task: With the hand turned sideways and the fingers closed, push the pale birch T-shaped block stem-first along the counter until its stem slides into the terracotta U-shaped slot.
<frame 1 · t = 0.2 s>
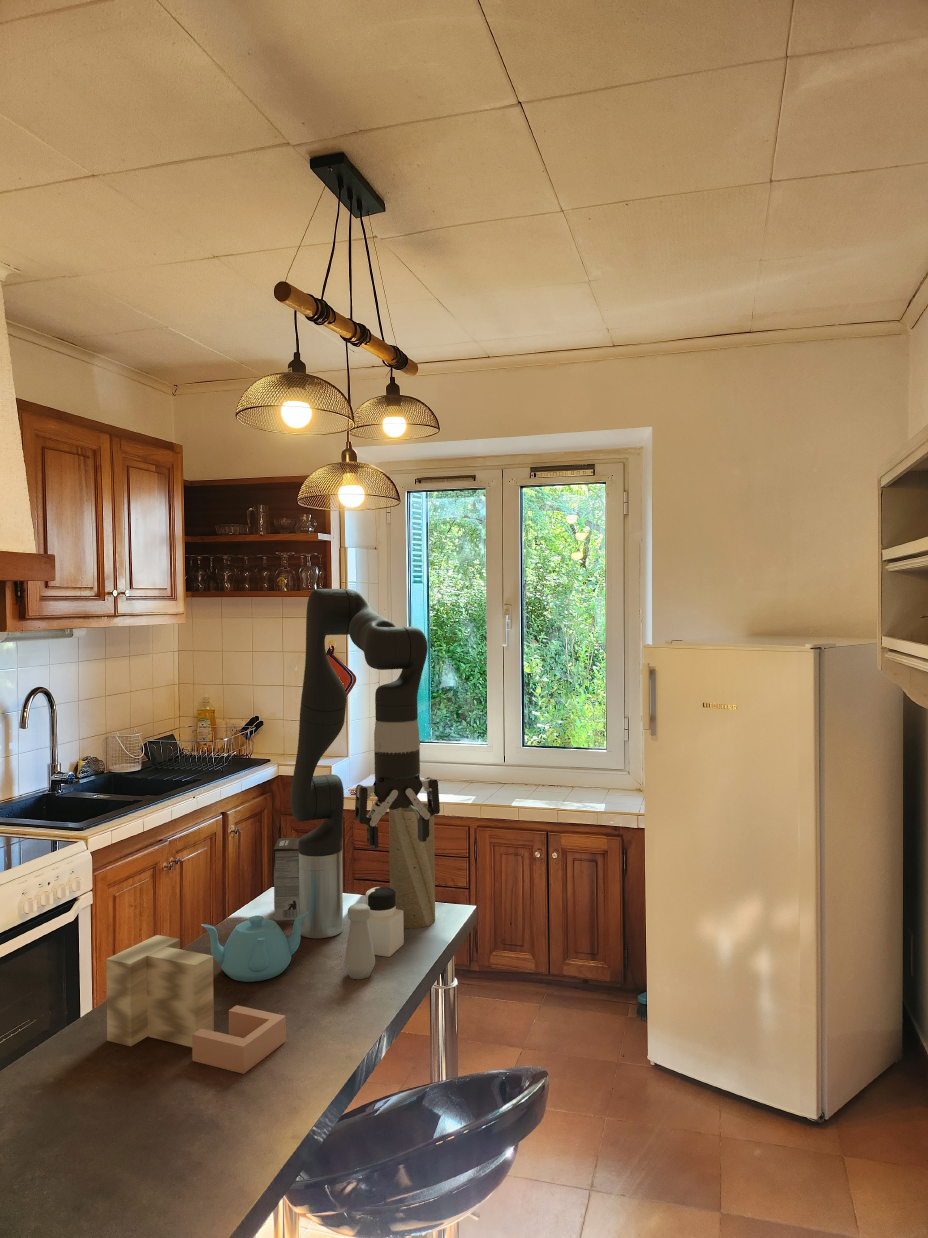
hand: (398, 844, 140), 29 cm above the kitchen island, tool pointing down, fingers open, 8 cm apart
teapot: (257, 974, 160), on the kitchen island
medicine bottle: (381, 950, 171), on the kitchen island
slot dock: (236, 1050, 131), on the kitchen island
t block: (168, 1033, 137), on the kitchen island
salt shaker: (359, 976, 158), on the kitchen island
tube: (412, 921, 187), on the kitchen island
coffee box: (290, 914, 192), on the kitchen island
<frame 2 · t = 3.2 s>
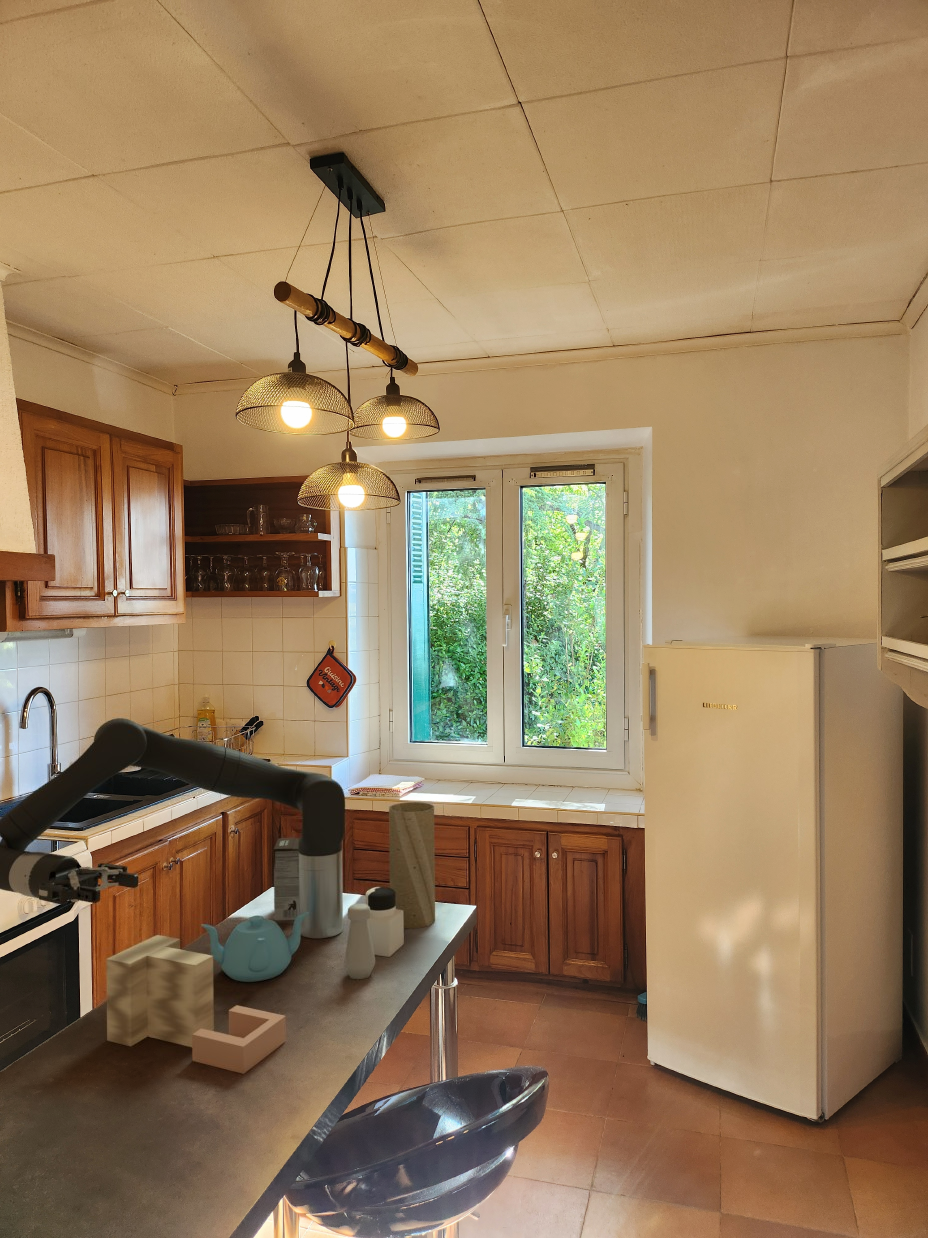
hand: (118, 888, 140), 22 cm above the kitchen island, tool horizontal, fingers open, 8 cm apart
nothing on the kitchen island moved.
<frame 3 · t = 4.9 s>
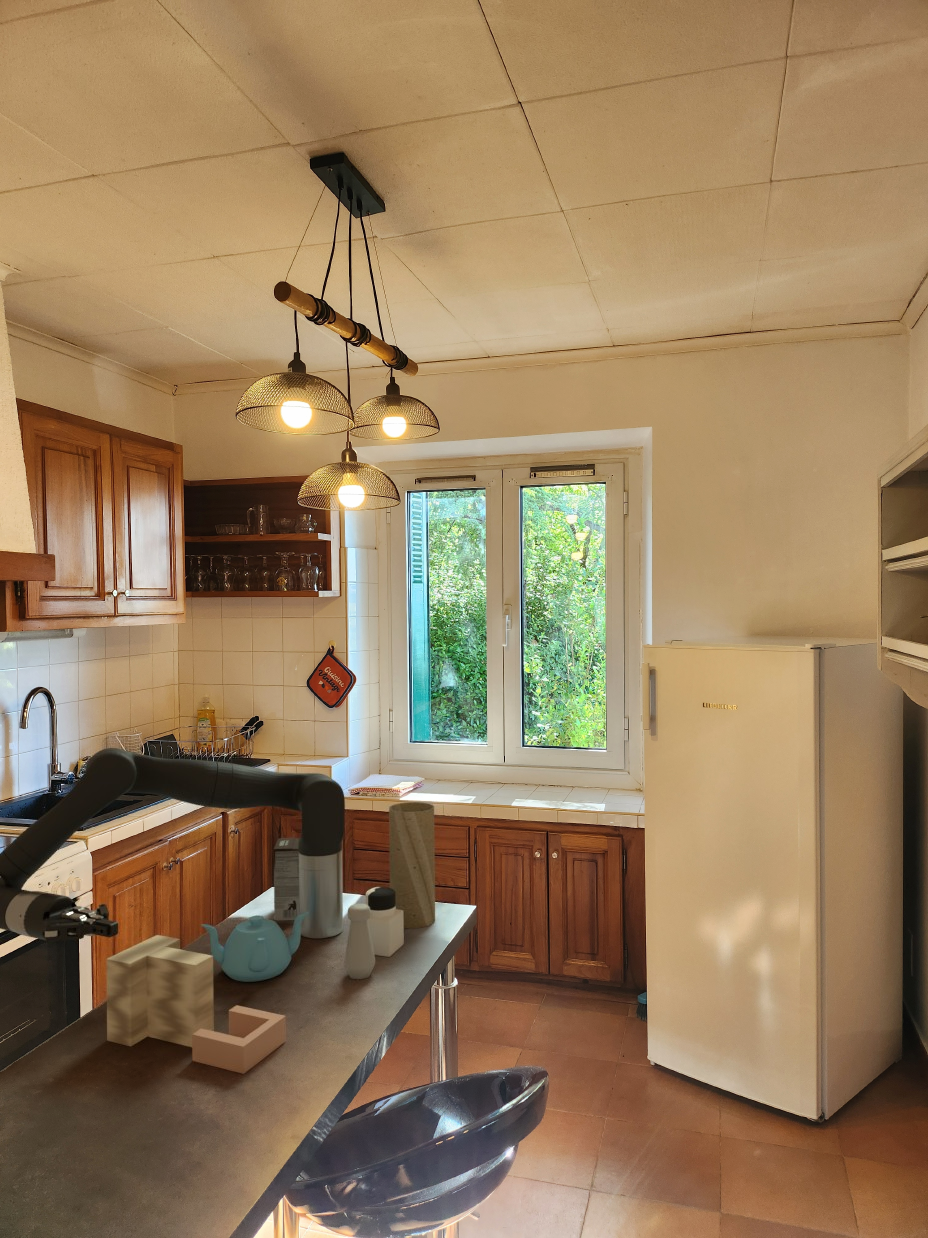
hand: (114, 930, 141), 15 cm above the kitchen island, tool horizontal, fingers closed
nothing on the kitchen island moved.
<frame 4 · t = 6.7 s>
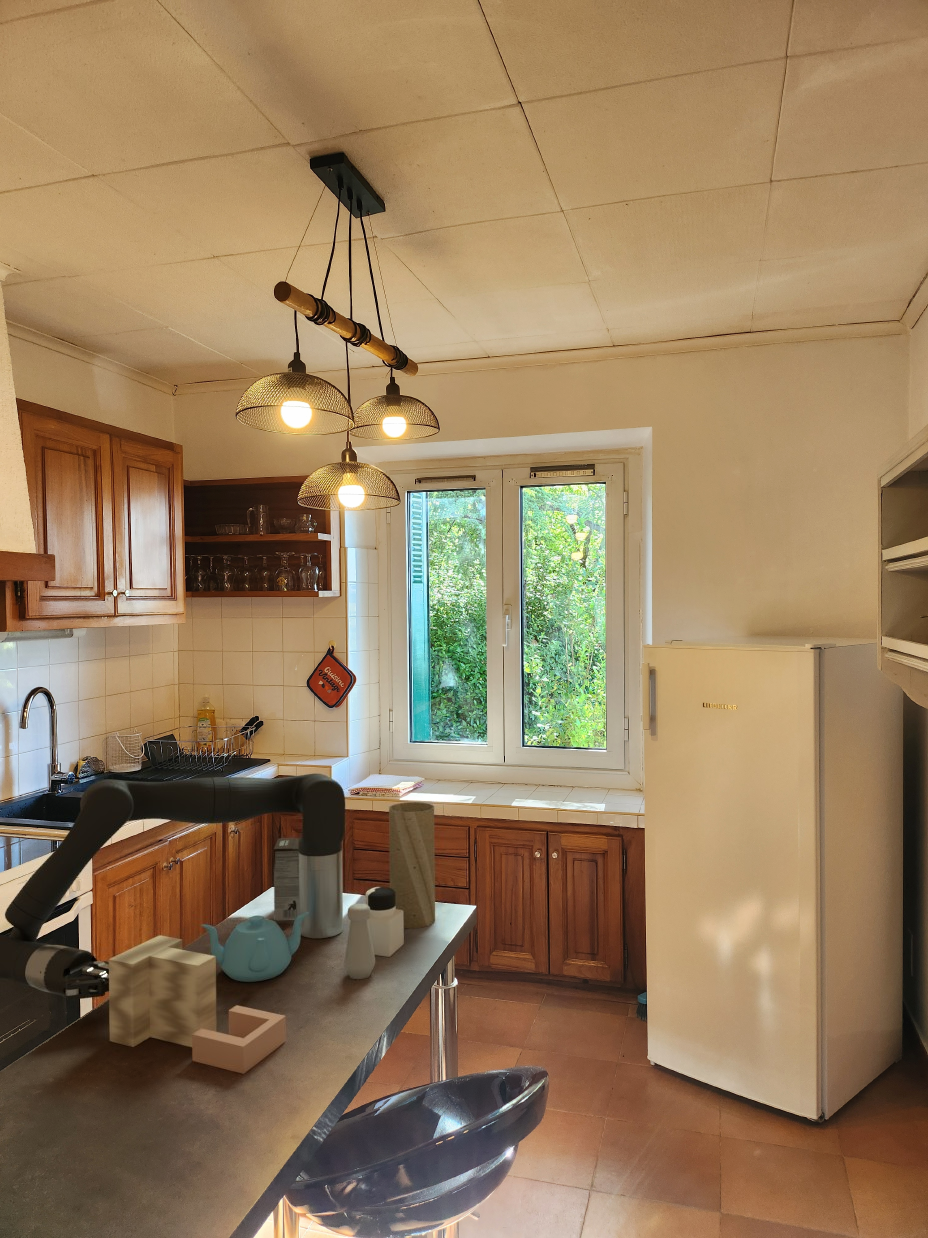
hand: (136, 986, 139), 6 cm above the kitchen island, tool horizontal, fingers closed
t block: (171, 1034, 136), on the kitchen island, touching gripper
everything else where it was.
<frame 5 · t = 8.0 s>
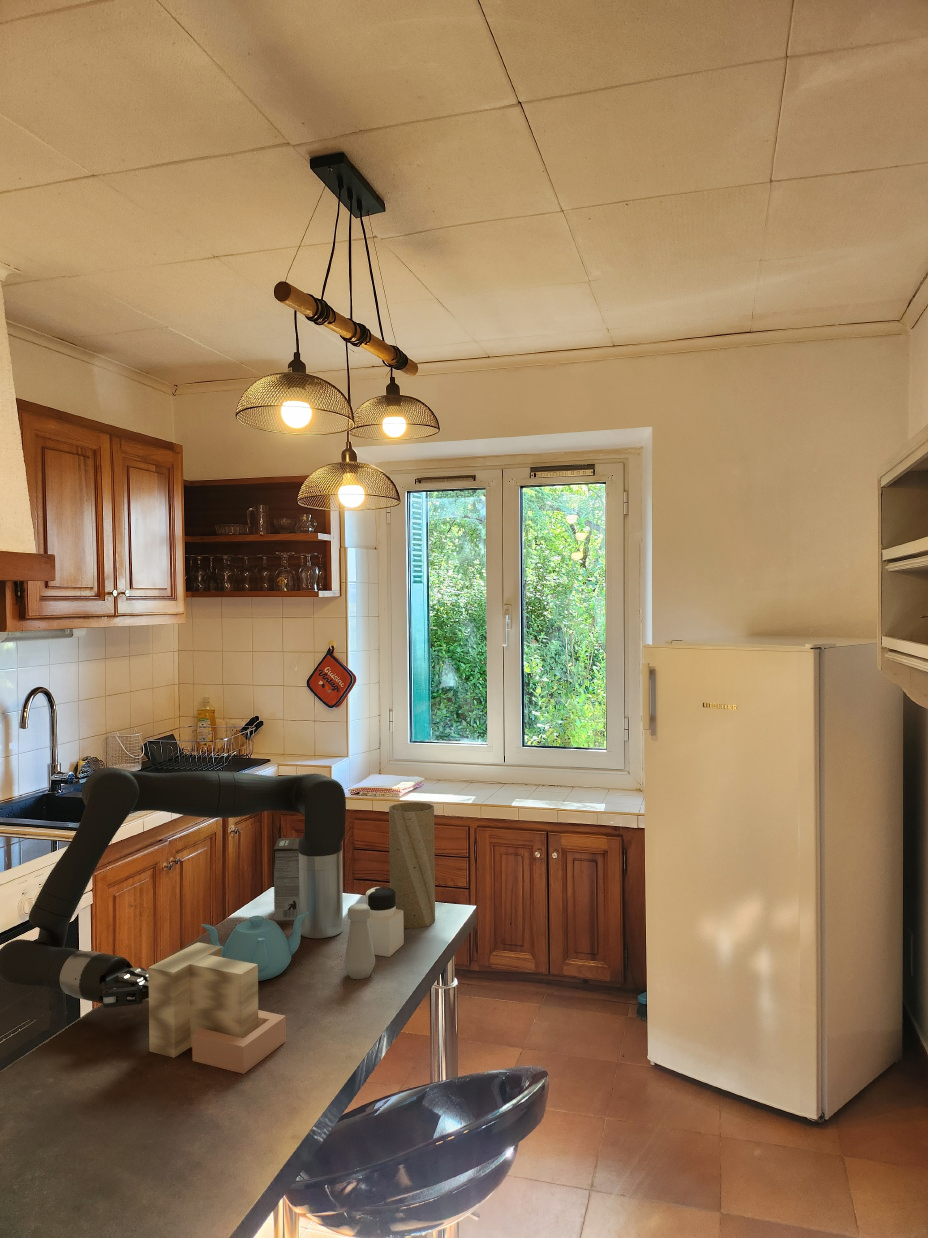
hand: (174, 994, 136), 7 cm above the kitchen island, tool horizontal, fingers closed
t block: (211, 1044, 133), on the kitchen island, touching gripper
everything else where it was.
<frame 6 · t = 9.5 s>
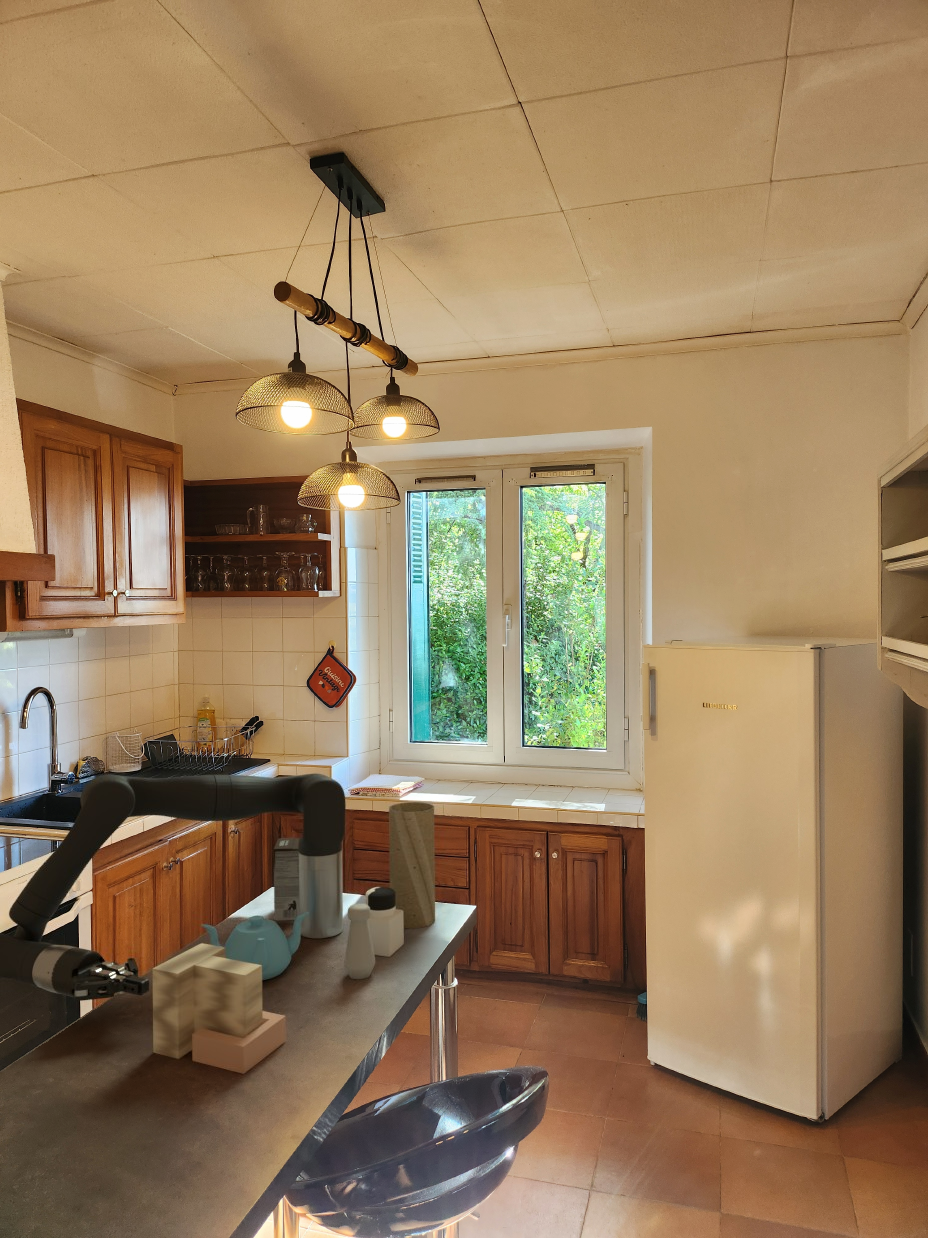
hand: (145, 987, 138), 7 cm above the kitchen island, tool horizontal, fingers closed
t block: (215, 1045, 133), on the kitchen island
everything else where it was.
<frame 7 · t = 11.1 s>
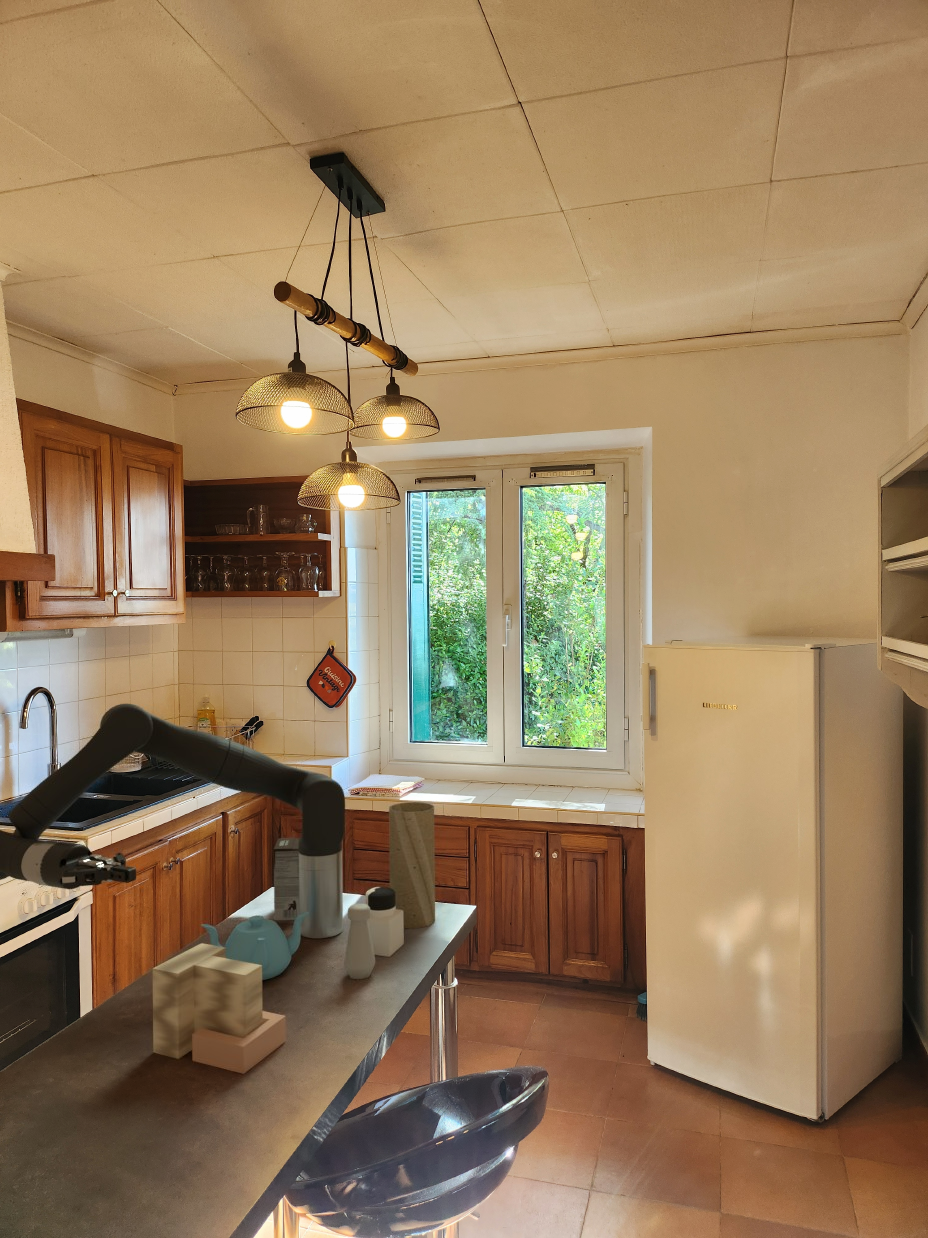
hand: (132, 875, 140), 25 cm above the kitchen island, tool horizontal, fingers closed
nothing on the kitchen island moved.
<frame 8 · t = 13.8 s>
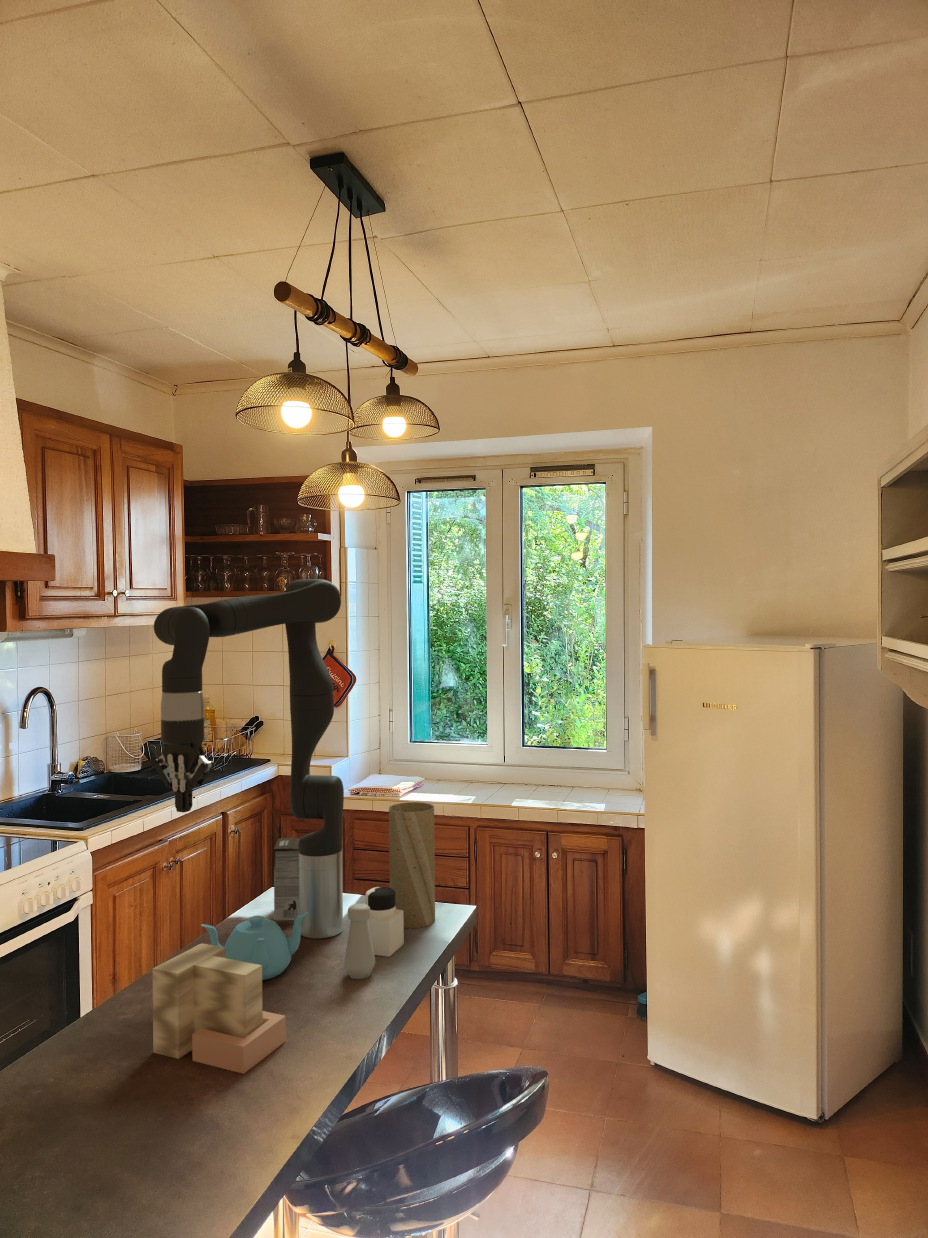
hand: (183, 811, 154), 32 cm above the kitchen island, tool pointing down, fingers closed
nothing on the kitchen island moved.
at the end: t block 0.4 cm from the target spot on the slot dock, point 0.0 cm above the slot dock's base; t block tilted 0° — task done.
